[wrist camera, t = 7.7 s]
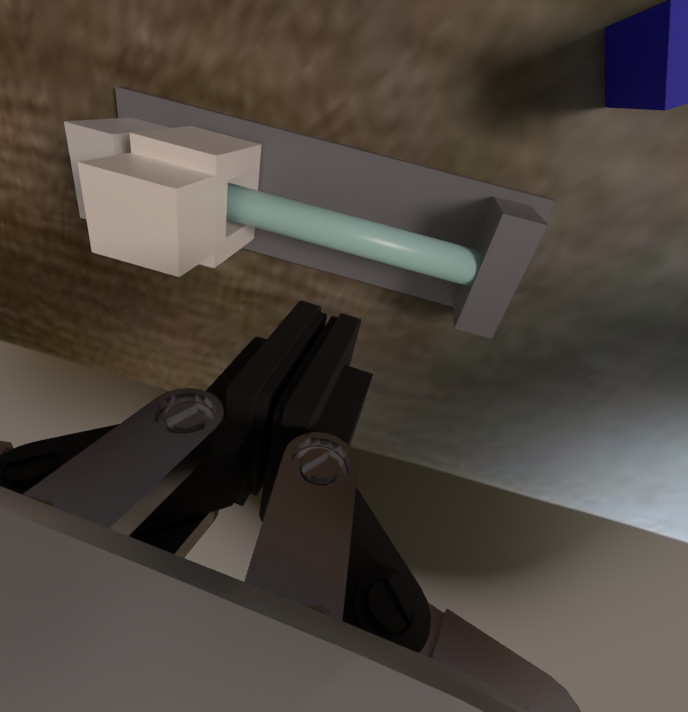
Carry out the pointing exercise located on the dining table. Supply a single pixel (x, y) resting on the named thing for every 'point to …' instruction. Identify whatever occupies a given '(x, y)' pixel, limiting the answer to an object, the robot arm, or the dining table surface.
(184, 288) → the dining table surface
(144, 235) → the sleeve
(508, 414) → the dining table surface
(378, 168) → the threaded rod slide
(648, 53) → the blue curved block
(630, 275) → the dining table surface
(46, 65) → the dining table surface
